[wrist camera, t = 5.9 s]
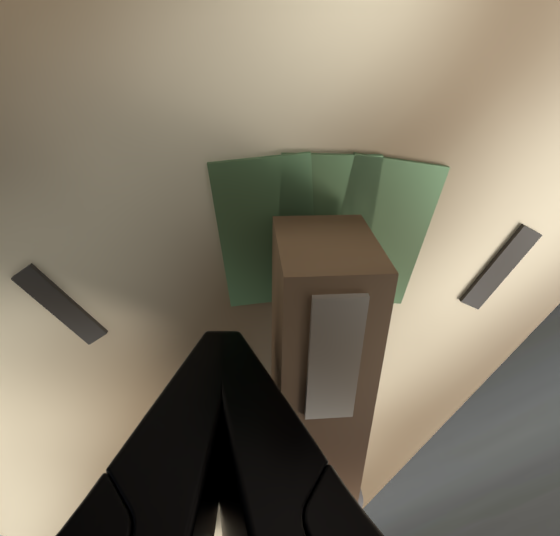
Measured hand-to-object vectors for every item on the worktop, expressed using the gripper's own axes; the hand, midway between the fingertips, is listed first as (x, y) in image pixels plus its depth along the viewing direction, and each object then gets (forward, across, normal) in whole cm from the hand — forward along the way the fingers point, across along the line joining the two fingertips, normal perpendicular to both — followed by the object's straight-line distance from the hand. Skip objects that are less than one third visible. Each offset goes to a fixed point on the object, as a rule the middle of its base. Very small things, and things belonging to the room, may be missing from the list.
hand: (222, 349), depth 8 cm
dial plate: (+2, 0, +1) cm, 2 cm away
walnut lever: (+1, -2, +3) cm, 4 cm away
